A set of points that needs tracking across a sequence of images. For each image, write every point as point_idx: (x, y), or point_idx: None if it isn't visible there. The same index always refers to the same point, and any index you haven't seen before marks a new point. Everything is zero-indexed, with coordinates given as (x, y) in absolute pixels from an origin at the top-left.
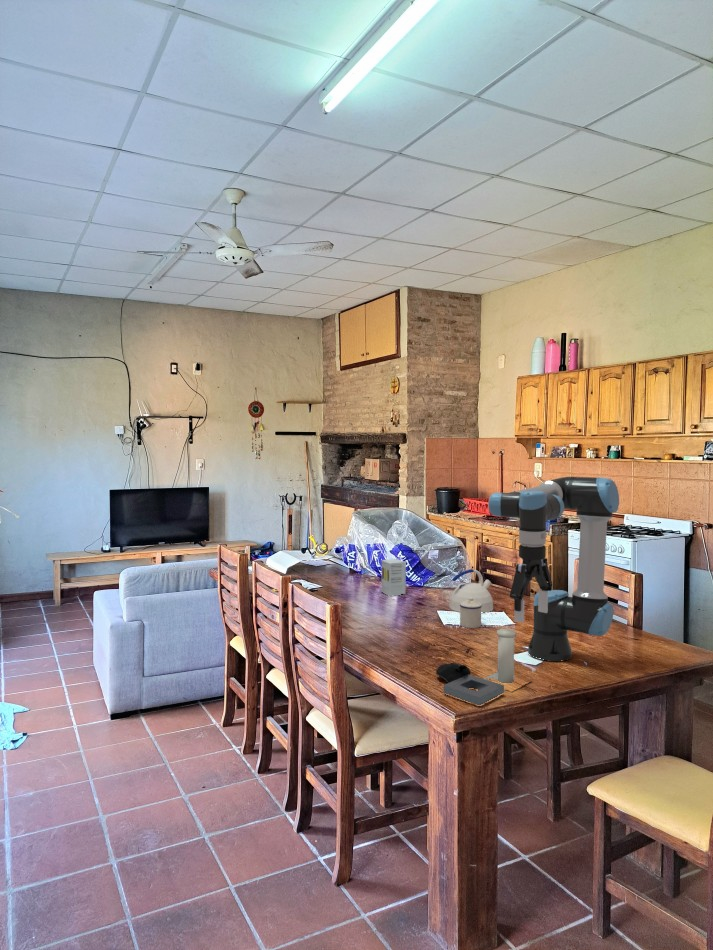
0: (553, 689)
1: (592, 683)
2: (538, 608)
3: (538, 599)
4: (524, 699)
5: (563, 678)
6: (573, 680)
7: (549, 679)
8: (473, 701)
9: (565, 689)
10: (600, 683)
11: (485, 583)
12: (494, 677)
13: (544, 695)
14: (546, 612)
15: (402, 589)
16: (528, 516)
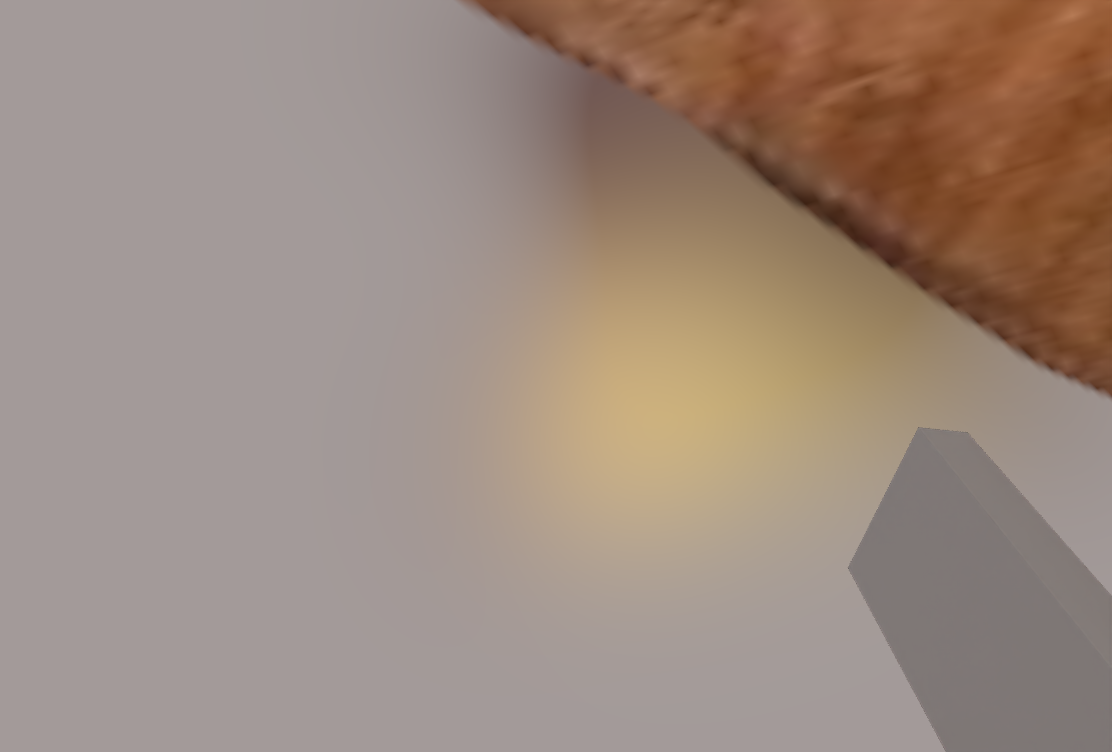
0: (809, 115)
1: (1009, 281)
2: (944, 476)
3: (1088, 646)
4: (521, 4)
5: (1048, 103)
6: (1028, 172)
7: (997, 21)
8: None
9: (843, 181)
10: (1024, 316)
11: None
12: None
13: (671, 101)
14: (854, 577)
15: None
16: None
